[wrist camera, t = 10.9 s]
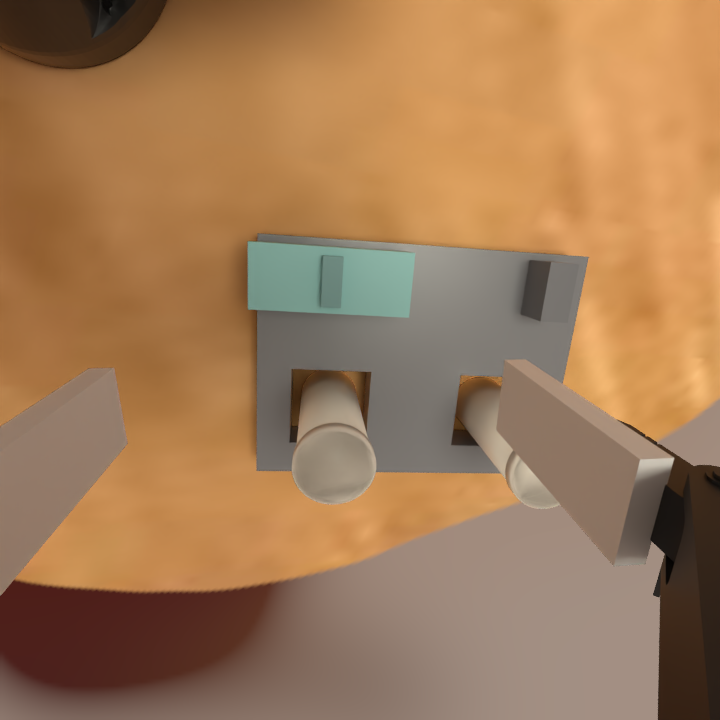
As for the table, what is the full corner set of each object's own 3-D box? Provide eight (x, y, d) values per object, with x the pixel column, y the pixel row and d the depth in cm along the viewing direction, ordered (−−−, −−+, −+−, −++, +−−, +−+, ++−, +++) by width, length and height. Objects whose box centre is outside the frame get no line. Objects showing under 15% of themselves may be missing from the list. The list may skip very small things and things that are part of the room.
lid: (257, 241, 29) (245, 241, 24) (402, 251, 30) (418, 253, 25) (256, 300, 30) (245, 311, 25) (397, 307, 31) (411, 320, 26)
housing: (263, 233, 32) (251, 232, 26) (565, 255, 34) (615, 258, 29) (261, 452, 36) (250, 492, 31) (527, 456, 39) (563, 493, 33)
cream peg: (452, 376, 36) (514, 439, 25) (506, 374, 37) (592, 435, 25) (449, 428, 38) (507, 511, 26) (501, 425, 38) (581, 506, 27)
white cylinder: (300, 365, 35) (292, 427, 23) (359, 367, 35) (379, 429, 24) (298, 419, 36) (290, 504, 25) (355, 421, 37) (373, 504, 25)
